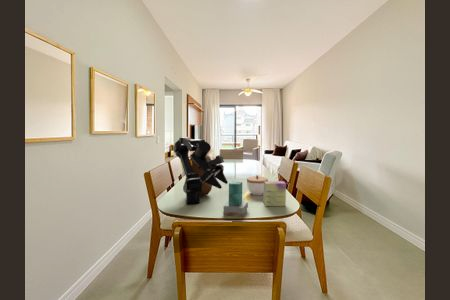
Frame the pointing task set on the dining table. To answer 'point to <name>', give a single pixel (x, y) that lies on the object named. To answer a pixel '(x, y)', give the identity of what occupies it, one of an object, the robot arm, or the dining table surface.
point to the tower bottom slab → (234, 214)
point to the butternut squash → (205, 187)
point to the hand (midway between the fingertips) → (224, 185)
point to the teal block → (235, 193)
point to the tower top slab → (236, 208)
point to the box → (274, 193)
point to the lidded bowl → (256, 185)
